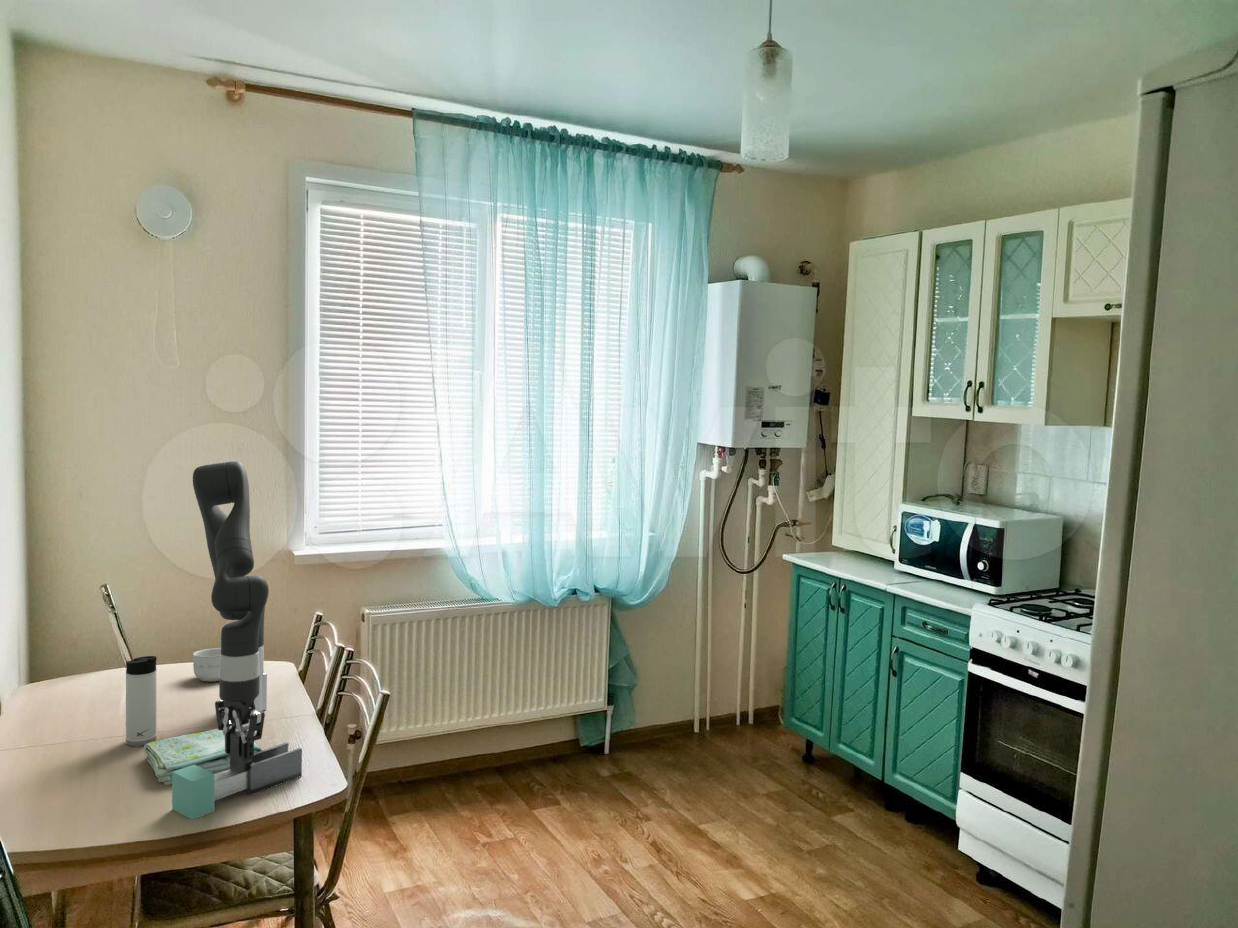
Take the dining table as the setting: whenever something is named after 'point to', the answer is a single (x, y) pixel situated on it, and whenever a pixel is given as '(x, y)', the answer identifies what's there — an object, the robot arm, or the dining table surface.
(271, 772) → the sleeve
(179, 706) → the dining table surface
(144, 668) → the travel mug
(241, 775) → the inner bar
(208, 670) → the teacup
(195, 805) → the socket block
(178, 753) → the towel
